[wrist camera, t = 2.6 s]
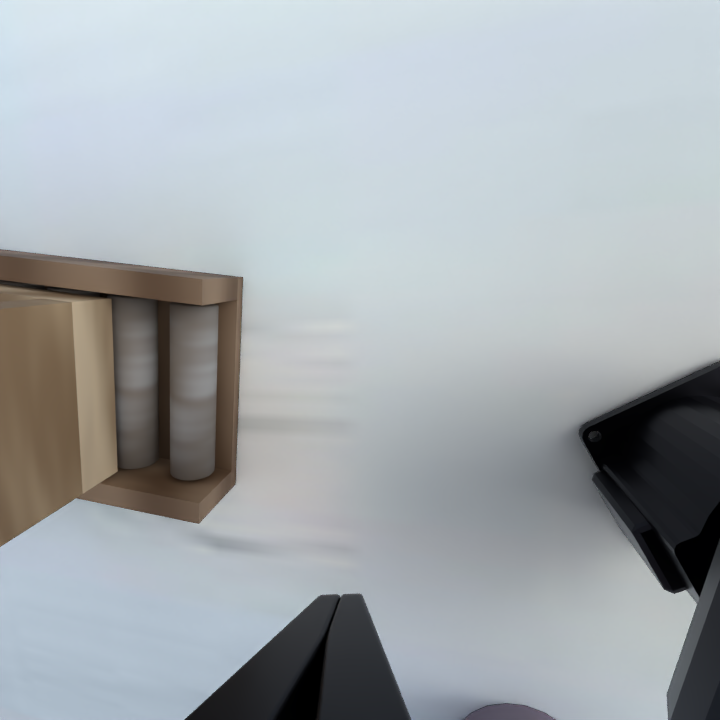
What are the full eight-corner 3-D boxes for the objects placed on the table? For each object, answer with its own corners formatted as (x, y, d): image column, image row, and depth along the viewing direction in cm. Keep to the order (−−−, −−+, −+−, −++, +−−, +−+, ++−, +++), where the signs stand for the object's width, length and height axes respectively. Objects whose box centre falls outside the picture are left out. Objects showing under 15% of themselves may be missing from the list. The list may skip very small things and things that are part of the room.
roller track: (242, 277, 19) (170, 280, 14) (235, 484, 22) (171, 553, 16) (-65, 241, 22) (-226, 233, 16) (-41, 431, 24) (-174, 476, 19)
